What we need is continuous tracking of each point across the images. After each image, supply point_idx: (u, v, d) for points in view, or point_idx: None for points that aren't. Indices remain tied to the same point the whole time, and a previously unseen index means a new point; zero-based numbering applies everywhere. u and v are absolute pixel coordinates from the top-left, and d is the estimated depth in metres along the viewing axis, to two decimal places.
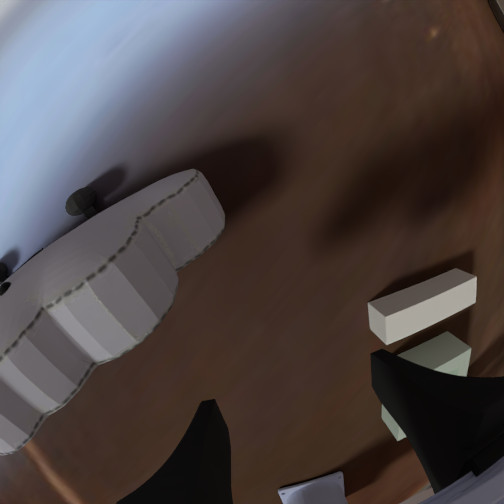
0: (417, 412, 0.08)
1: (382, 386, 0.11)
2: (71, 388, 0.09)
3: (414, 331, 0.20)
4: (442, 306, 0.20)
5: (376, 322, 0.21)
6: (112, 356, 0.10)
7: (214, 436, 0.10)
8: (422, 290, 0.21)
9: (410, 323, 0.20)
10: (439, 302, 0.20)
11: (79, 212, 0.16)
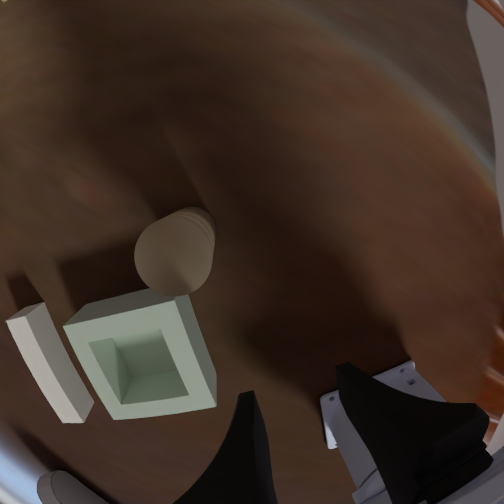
0: (376, 431, 0.08)
1: (346, 400, 0.11)
2: None
3: (66, 398, 0.18)
4: (39, 368, 0.17)
5: None
6: None
7: (258, 427, 0.10)
8: None
9: (61, 402, 0.18)
10: (37, 373, 0.17)
11: None
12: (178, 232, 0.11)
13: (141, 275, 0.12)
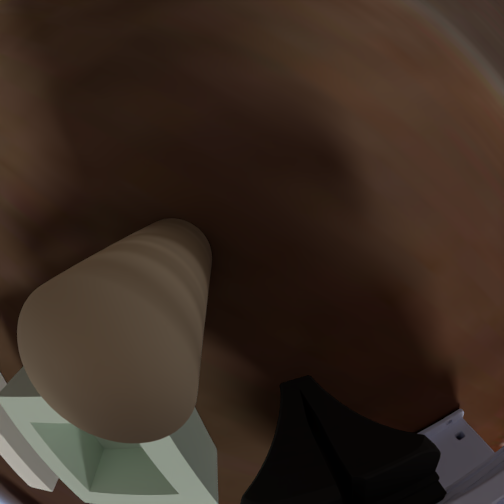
0: (327, 450, 0.08)
1: (305, 414, 0.11)
2: None
3: (27, 466, 0.10)
4: None
5: None
6: None
7: None
8: None
9: (22, 468, 0.10)
10: None
11: None
12: (100, 315, 0.04)
13: (44, 395, 0.04)
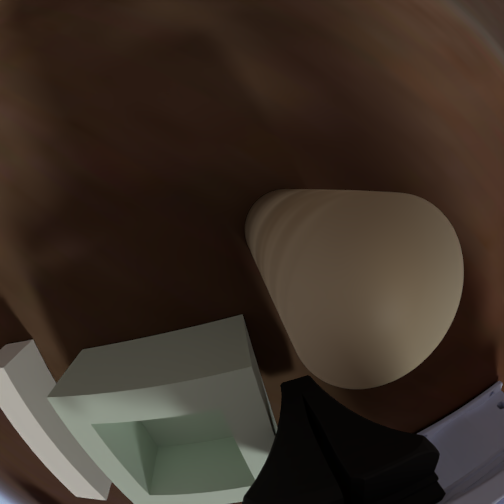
0: (326, 450, 0.08)
1: None
2: None
3: (79, 475, 0.10)
4: (34, 437, 0.10)
5: None
6: None
7: None
8: None
9: (72, 477, 0.10)
10: (33, 442, 0.10)
11: None
12: (414, 232, 0.04)
13: (301, 352, 0.04)
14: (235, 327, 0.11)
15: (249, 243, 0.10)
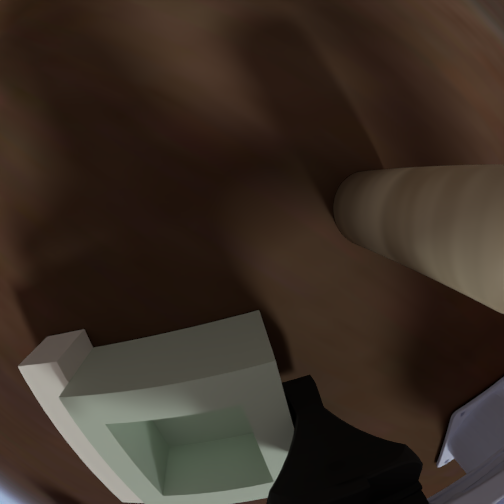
0: None
1: (292, 418, 0.11)
2: None
3: None
4: (84, 441, 0.10)
5: None
6: None
7: None
8: None
9: None
10: (81, 447, 0.10)
11: None
12: None
13: (485, 278, 0.04)
14: (254, 322, 0.11)
15: (355, 216, 0.10)
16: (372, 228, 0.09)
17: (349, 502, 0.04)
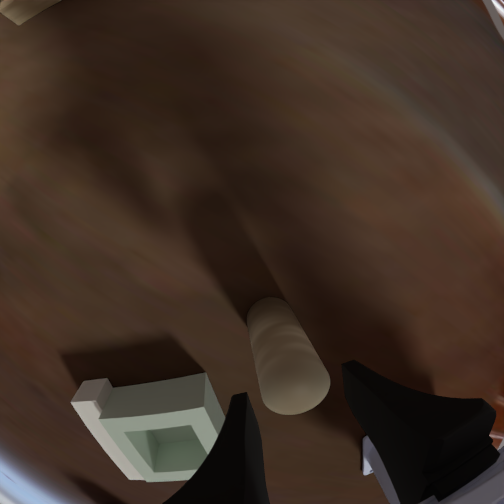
0: (383, 428, 0.08)
1: (352, 398, 0.11)
2: None
3: None
4: (109, 441, 0.18)
5: None
6: None
7: (250, 429, 0.10)
8: None
9: (131, 465, 0.19)
10: (106, 444, 0.18)
11: None
12: (304, 370, 0.12)
13: (266, 403, 0.12)
14: (200, 381, 0.20)
15: (249, 336, 0.18)
16: None
17: None
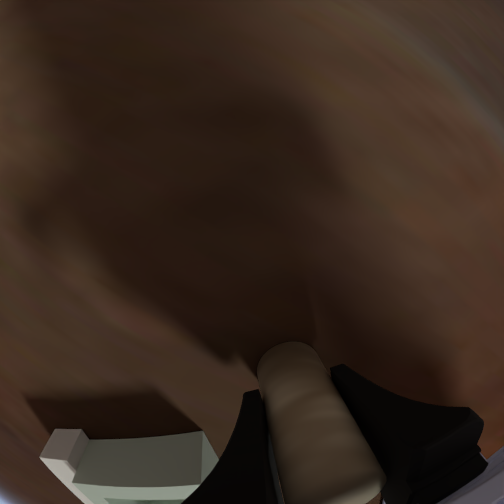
0: (370, 434, 0.08)
1: None
2: None
3: None
4: None
5: None
6: None
7: (264, 426, 0.10)
8: None
9: None
10: (87, 500, 0.12)
11: None
12: (354, 480, 0.06)
13: None
14: (196, 444, 0.14)
15: (262, 399, 0.12)
16: None
17: None
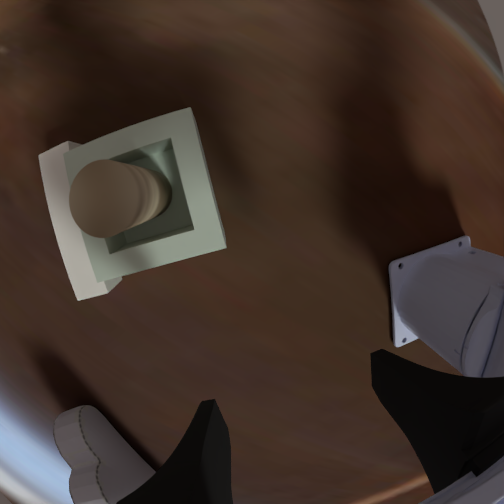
0: (417, 412, 0.08)
1: (382, 386, 0.11)
2: None
3: None
4: (64, 212, 0.16)
5: None
6: None
7: (214, 436, 0.10)
8: None
9: (83, 262, 0.17)
10: (60, 221, 0.16)
11: None
12: (109, 173, 0.11)
13: (72, 213, 0.11)
14: None
15: None
16: None
17: None
